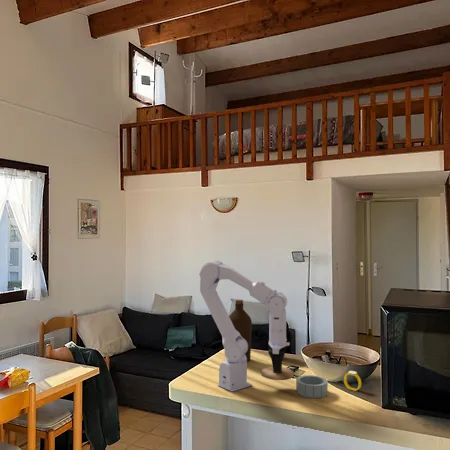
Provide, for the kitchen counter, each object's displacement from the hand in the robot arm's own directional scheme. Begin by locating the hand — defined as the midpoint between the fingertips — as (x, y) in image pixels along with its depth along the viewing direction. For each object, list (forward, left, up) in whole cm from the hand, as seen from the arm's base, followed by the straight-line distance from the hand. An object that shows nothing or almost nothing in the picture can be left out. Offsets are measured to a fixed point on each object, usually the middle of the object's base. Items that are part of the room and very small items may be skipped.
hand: (277, 369), depth 145 cm
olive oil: (+12, +33, -7) cm, 36 cm away
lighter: (+23, -5, -7) cm, 25 cm away
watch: (+20, -16, -7) cm, 27 cm away
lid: (0, 0, -2) cm, 2 cm away
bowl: (+7, -9, -7) cm, 13 cm away
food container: (+27, +24, -7) cm, 37 cm away
